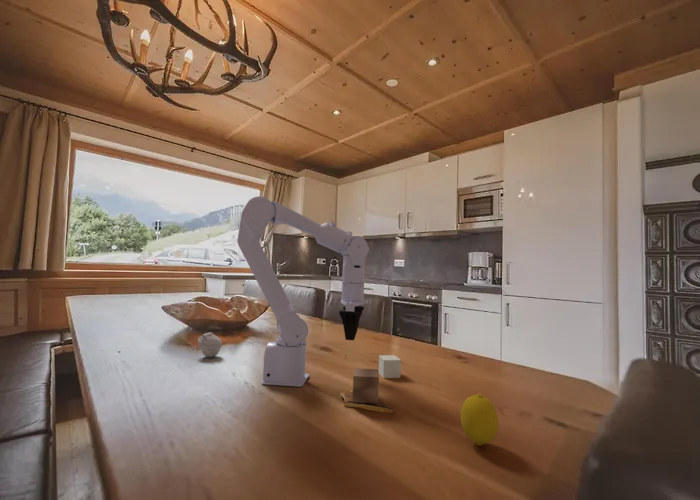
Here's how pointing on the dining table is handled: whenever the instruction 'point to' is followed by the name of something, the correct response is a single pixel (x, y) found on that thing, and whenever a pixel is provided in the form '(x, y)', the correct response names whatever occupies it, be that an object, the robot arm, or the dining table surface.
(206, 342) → the round grey stone
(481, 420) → the lemon
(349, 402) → the shard
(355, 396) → the walnut block
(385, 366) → the white cube
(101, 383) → the dining table surface
